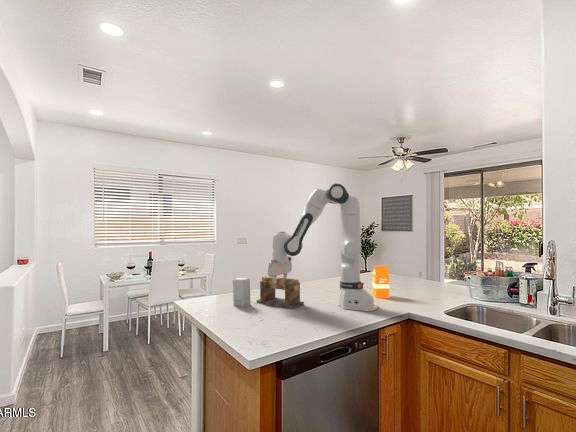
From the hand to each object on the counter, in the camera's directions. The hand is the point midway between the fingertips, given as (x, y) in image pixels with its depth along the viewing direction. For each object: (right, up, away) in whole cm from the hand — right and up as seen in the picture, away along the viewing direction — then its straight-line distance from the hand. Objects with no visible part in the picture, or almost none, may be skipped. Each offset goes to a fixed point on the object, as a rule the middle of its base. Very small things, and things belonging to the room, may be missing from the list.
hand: (279, 282), depth 190 cm
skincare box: (-23, -13, -3) cm, 26 cm away
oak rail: (0, -4, 0) cm, 4 cm away
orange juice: (+66, -13, +18) cm, 69 cm away
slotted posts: (0, -13, 0) cm, 13 cm away
